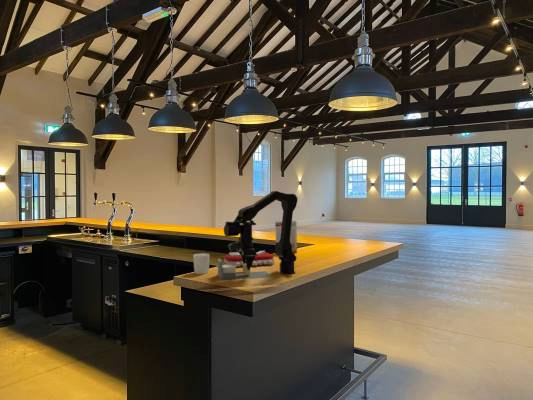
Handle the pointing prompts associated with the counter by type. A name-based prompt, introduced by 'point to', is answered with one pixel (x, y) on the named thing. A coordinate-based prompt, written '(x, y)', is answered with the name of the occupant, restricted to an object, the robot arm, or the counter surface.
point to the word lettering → (259, 260)
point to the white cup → (201, 263)
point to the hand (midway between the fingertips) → (246, 267)
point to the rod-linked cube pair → (233, 269)
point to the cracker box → (292, 236)
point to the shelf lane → (239, 276)
